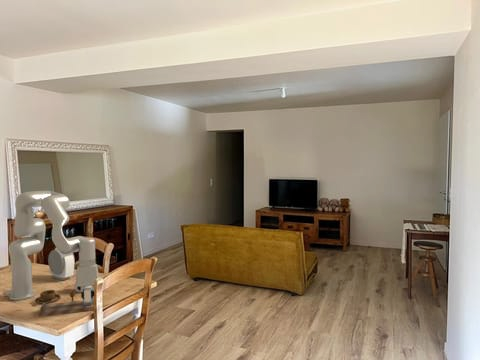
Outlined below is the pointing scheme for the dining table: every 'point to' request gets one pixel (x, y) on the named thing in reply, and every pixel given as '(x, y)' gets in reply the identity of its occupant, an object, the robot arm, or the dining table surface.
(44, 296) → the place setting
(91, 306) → the fader panel
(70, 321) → the dining table surface
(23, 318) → the dining table surface
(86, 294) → the fader knob
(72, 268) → the alarm clock
